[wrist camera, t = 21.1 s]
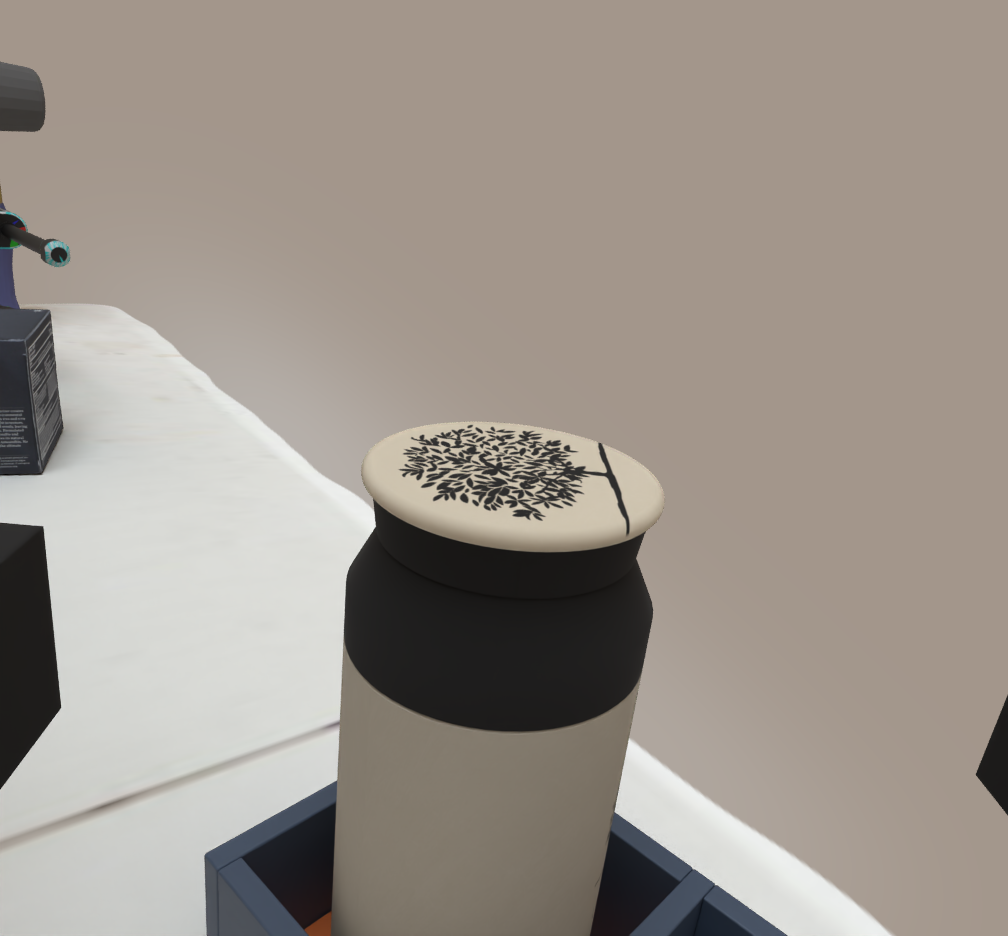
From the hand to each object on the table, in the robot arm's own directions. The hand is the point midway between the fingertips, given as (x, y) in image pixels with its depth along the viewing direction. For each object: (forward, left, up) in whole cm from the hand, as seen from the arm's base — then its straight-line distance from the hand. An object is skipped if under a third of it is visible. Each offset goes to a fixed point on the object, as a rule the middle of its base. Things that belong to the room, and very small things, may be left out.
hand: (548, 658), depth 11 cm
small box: (-64, +12, -20) cm, 68 cm away
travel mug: (-7, +7, -19) cm, 21 cm away
